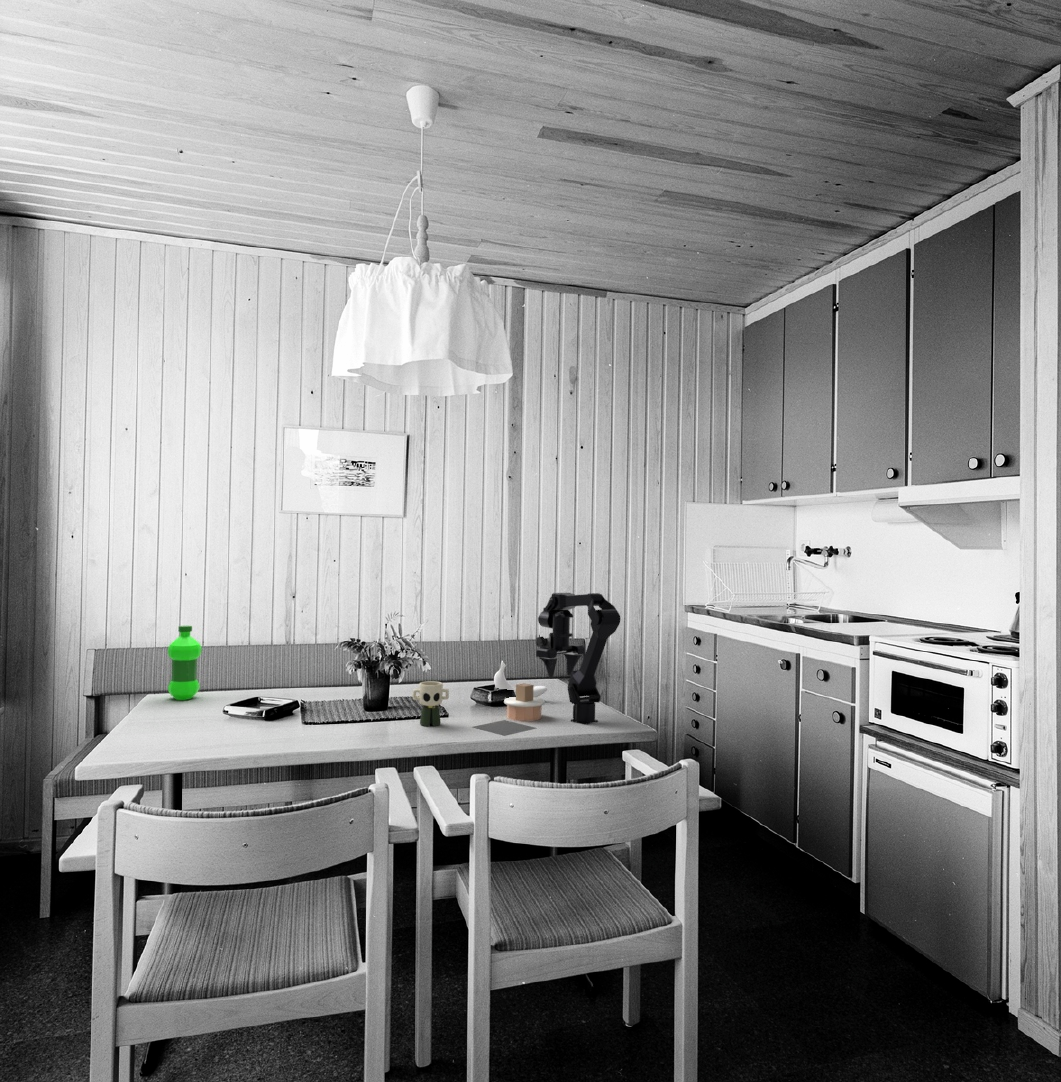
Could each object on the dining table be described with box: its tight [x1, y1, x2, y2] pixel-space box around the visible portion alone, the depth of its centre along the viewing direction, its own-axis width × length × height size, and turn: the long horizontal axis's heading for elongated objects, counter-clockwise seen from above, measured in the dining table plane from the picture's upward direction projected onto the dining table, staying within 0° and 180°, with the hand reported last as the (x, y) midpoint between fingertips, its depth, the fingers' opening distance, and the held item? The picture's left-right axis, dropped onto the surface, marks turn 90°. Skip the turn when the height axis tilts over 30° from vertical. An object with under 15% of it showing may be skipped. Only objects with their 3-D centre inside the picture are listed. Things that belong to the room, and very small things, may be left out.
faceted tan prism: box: [506, 704, 543, 722], centre depth 250 cm, size 11×11×5 cm
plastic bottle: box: [167, 625, 202, 701], centre depth 268 cm, size 10×10×25 cm
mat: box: [472, 719, 537, 736], centre depth 235 cm, size 14×14×1 cm
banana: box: [493, 660, 548, 698], centre depth 277 cm, size 5×19×15 cm, turn 96°
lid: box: [503, 682, 546, 707], centre depth 250 cm, size 13×13×6 cm
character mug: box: [412, 680, 450, 727], centre depth 237 cm, size 11×7×13 cm, turn 103°
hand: (560, 676), depth 259 cm, fingers open, 9 cm apart
